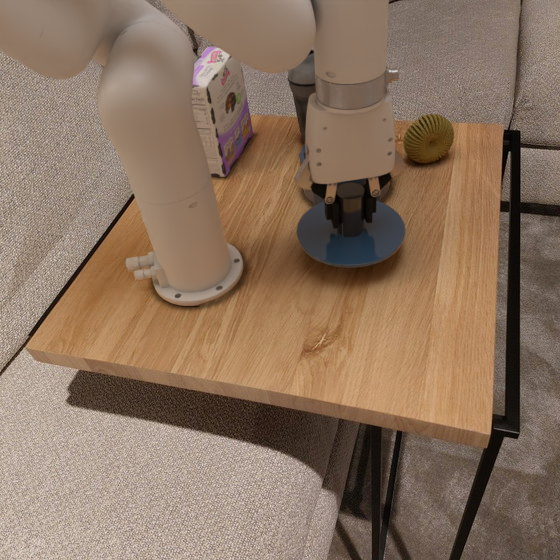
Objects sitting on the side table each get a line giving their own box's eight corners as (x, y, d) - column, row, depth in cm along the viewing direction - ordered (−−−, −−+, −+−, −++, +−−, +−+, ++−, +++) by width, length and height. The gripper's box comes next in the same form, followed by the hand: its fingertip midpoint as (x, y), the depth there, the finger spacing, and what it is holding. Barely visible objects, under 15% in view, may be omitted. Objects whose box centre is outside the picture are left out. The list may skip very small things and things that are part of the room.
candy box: (224, 133, 109) (207, 44, 97) (254, 135, 107) (239, 45, 95) (194, 175, 99) (171, 83, 88) (226, 178, 98) (206, 85, 86)
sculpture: (407, 172, 93) (409, 127, 87) (399, 159, 96) (400, 115, 90) (455, 162, 93) (460, 116, 88) (445, 149, 96) (449, 104, 91)
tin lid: (307, 279, 72) (303, 235, 67) (289, 211, 83) (285, 168, 78) (419, 261, 73) (424, 216, 68) (387, 196, 83) (390, 152, 78)
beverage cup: (332, 149, 100) (325, 31, 86) (290, 149, 102) (277, 33, 88) (338, 127, 105) (331, 12, 91) (298, 127, 107) (286, 15, 93)
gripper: (414, 60, 66) (404, 193, 79) (269, 81, 66) (283, 212, 78) (436, 89, 61) (421, 227, 74) (279, 113, 60) (291, 247, 73)
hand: (350, 218), depth 76 cm, fingers closed on tin lid, 3 cm apart
